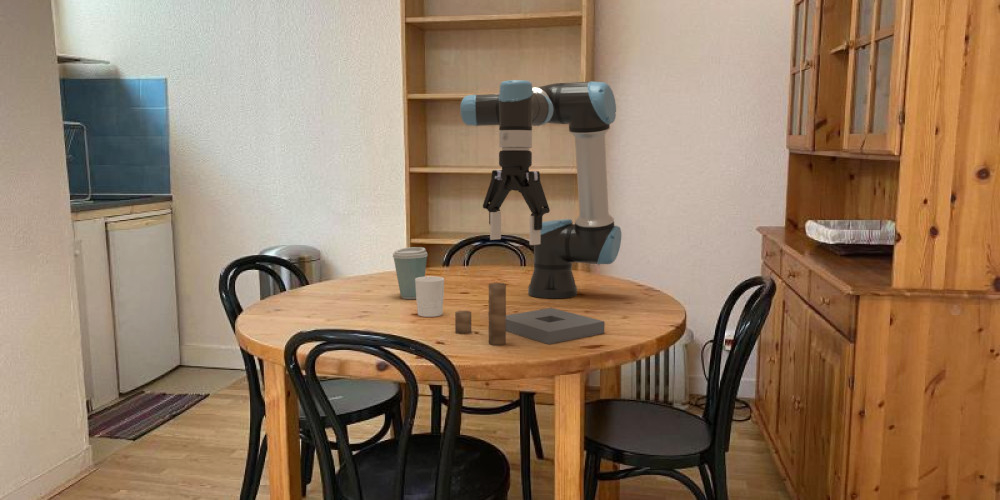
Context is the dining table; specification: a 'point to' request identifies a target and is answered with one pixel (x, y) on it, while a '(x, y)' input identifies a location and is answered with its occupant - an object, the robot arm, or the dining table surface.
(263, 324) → the dining table surface
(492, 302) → the tall pin
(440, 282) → the white cup
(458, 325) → the short pin
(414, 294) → the disposable coffee cup
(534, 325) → the hole plate
